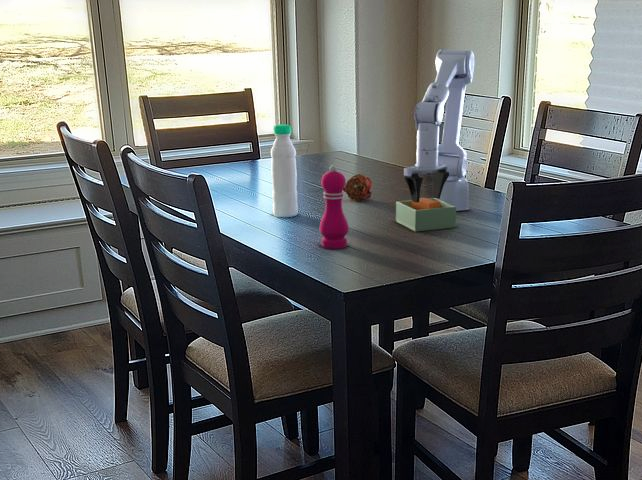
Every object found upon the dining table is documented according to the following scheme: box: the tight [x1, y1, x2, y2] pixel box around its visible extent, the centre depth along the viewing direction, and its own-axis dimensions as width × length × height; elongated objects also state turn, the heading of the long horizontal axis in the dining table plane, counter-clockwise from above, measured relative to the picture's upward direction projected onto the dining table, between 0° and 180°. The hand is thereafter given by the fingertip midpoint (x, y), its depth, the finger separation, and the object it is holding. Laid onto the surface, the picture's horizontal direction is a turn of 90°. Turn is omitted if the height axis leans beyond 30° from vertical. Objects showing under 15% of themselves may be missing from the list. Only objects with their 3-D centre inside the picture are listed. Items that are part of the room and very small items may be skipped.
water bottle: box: [270, 123, 299, 218], centre depth 238 cm, size 7×7×25 cm
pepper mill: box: [319, 164, 350, 250], centre depth 209 cm, size 7×7×20 cm
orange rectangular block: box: [412, 197, 440, 210], centre depth 232 cm, size 4×7×6 cm, turn 38°
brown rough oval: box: [342, 173, 373, 202], centre depth 261 cm, size 8×8×12 cm
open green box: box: [395, 197, 457, 232], centre depth 232 cm, size 12×12×6 cm
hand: (426, 199), depth 231 cm, fingers open, 7 cm apart
